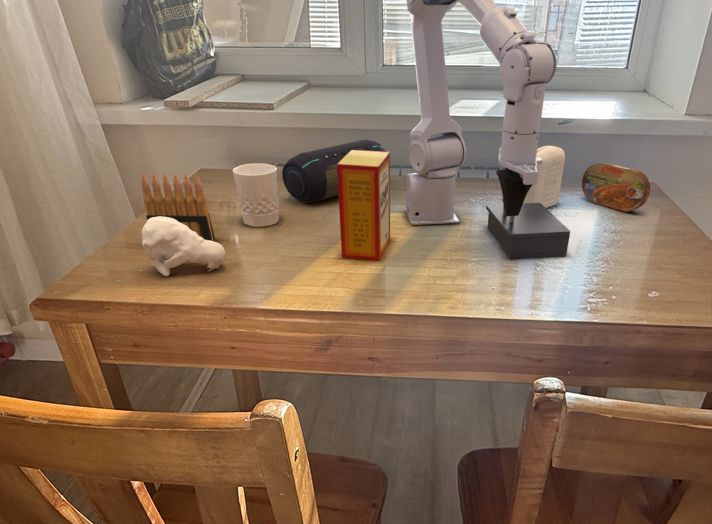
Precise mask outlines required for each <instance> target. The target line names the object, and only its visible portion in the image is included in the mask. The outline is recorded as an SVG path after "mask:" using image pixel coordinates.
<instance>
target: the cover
mask: <svg viewBox="0 0 712 524" xmlns="http://www.w3.org/2000/svg"><path fill="white" fill-rule="evenodd" d="M501 202H502V203H501V204H498V203H497V204H486V205H485V209H486V211H487V212H488V214H489V213H490V214H491V215H492V217H493V218H494V219H495V220H496V222H497V223H498V224H499V226H500V227H501V228H502V229H503V231H504V232H505V233H506V234H507V236H508V237H509V238H525V237H544V236H564V235H569V236H571V231H570V229H568V227H566V226H565V225H564V223H562V221H560V220H559V219H558V218H557V217H556V216H555V215H554V214H553V213H552V212H551V211H550V210H548V208H545V207H544V206H543V205H542V204H541V203H523V205H522V208H521V211H520V213H519V215H518V216H506V214H505V212H504V205H503V196H502V197H501Z"/></svg>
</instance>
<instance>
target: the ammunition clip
mask: <svg viewBox="0 0 712 524" xmlns="http://www.w3.org/2000/svg"><path fill="white" fill-rule="evenodd" d="M140 180H141V181H140V183H141V184H140V185H141V189H142V195H143V197H142V198H143V203H144V208H145V212H146V221H147V220H148V219H150V218H152V217H158V216H162V217H169V218H173V219H175V220H177V221H178V222H180V223H182V224H184V225H186V226H187V227H189V229H190V230H192V231H194V232H196V233H197V234H198V236H200V237H202V238H203V239H204V240H210V241H214V242H215V240H216V237H215V232H214V228H213V224H212V220H211V215H210V212H209V209H208V204H207V199H206V197H205V193H204V190H203V185H202V181H201V179H200V177H199V176H198V174H197V173H195V174H194V178H193V183H194V191H193V186H192V183H191V180H190V178H189V176H188V175H187V173H185V174H184V176H183V188H184V192H183V189H182V184H181V181H180V180H179V177H178V175H177V174H176V173H174V174H173V179H172V183H173V190H174V192H173V190H172V185H171V183H170V180H169V178H168V176H167V175H166V173H163V175H162V187H163V192H162V188H161V186H160V182H159V180H158V177H157V176H156V174H155V173H152V175H151V185H152V190H151V188H150V183H149V181H148V178H147V176H146V175H145V174H144V173H141V177H140ZM152 192H153V193H152ZM163 193H164V195H163ZM194 193H195V195H194Z"/></svg>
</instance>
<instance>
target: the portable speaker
mask: <svg viewBox="0 0 712 524" xmlns="http://www.w3.org/2000/svg"><path fill="white" fill-rule="evenodd" d="M351 150H364V151H380V152H387V151H386V150H385V148H384V147H383V146H382V144H381V143H379V142H377V141H375V140H373V139H372V140H371V139H360V140H356V141H349V142H346V143H342V144H341V143H340V144H338V145H333V146H328V147H322V148H318V149H314V150H310V151H305V152H300V153H298V154H297V155H295V156H293V157H291V158H290V159H288V160H287V161H286V162H285V164H284V165H283V167H282V170H281V178H282V181H283V185H284V187H285V188H286V190H287V192H288V193H289V195H290V196H291V197H292V198H293V199H295V200H296V201H299V202H303V203H314V202H319V201H323V200H327V199H329V198H334V197H337V196H339V195H338V177H337V164H338V163H339V162H340V161H341V160H342V159H343V158H344V157H345V156H346V155H347V154H348V153H349V152H350V151H351Z"/></svg>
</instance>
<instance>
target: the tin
mask: <svg viewBox="0 0 712 524" xmlns="http://www.w3.org/2000/svg"><path fill="white" fill-rule="evenodd" d="M581 189H582V190H581V191H582V193H583V195H584V197H585V198H586V199H587V200H588V201H589V202H591V203H593V204H596V205H600V206H603V207H607V208H610V209H614V210H617V211H620V212H625V213H627V212H632V211H634V210H637V209H639V208H641V207H643V206H644V205H645V204H646V203H647V201H648V199H649V197H650V192H651V183H650V180H649V178H648V176H647V175H646V174H645V173H644V172H642V171H641V170H639V169H635V168H631V167H625V166H621V165H617V164H613V163H609V162H597V163H594V164H592V165H591V164H590V166H589V167H588V168H587V169H586V170H585V171H584V173H583V175H582V179H581Z"/></svg>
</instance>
